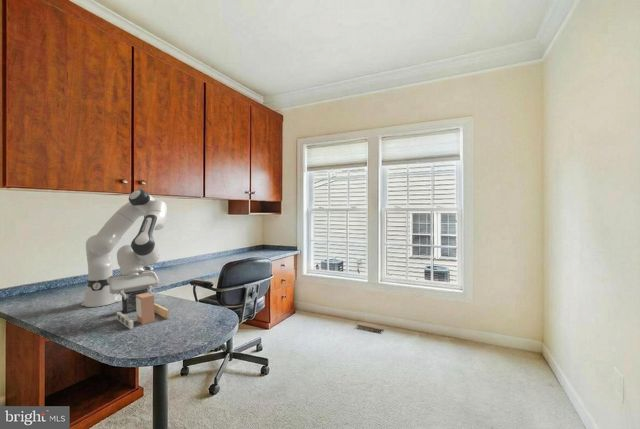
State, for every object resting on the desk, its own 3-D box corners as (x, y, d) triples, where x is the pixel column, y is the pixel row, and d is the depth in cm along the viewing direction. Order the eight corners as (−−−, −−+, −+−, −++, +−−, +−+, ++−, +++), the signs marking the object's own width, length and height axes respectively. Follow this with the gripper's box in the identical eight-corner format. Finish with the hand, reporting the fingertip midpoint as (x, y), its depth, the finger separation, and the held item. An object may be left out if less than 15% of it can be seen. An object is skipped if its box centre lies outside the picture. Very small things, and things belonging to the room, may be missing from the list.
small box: (144, 305, 158) (143, 286, 158) (149, 308, 154) (148, 288, 154) (121, 311, 150) (121, 291, 150) (126, 313, 146) (125, 292, 146)
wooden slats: (116, 319, 138) (115, 310, 138) (153, 310, 151) (153, 302, 151) (129, 329, 125) (129, 320, 125) (169, 318, 137) (169, 309, 137)
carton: (148, 317, 139) (147, 292, 139) (154, 321, 134) (153, 295, 134) (136, 320, 136) (135, 295, 135) (142, 324, 130) (141, 298, 130)
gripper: (107, 272, 134) (112, 297, 127) (155, 266, 149) (163, 288, 142) (105, 280, 137) (110, 305, 130) (152, 274, 152) (159, 296, 145)
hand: (138, 296), depth 136 cm, fingers open, 8 cm apart
